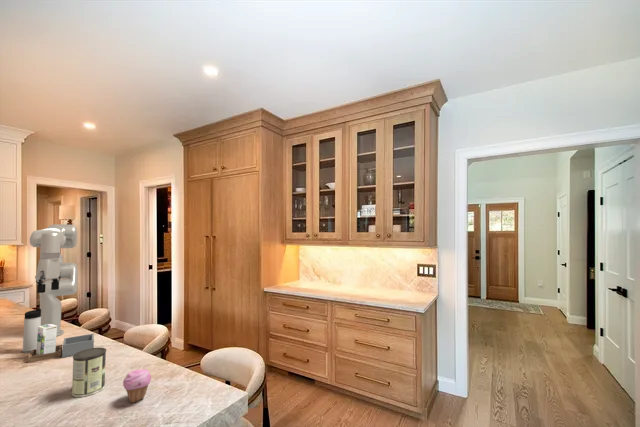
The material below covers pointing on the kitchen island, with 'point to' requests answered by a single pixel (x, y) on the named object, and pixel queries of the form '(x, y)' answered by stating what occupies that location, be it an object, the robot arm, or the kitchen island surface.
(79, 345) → the bin
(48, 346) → the syrup box
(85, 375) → the coffee can
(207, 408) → the kitchen island surface
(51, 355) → the socket collar
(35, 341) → the travel mug
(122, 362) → the kitchen island surface
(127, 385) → the cupcake
